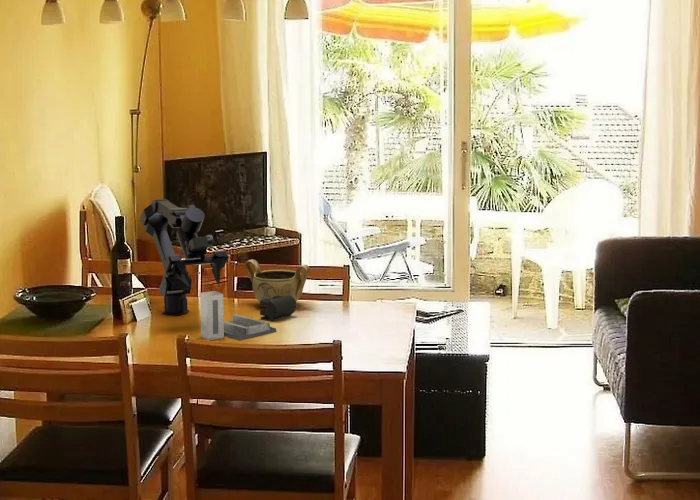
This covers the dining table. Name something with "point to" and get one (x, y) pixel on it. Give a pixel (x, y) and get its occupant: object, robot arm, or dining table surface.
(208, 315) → the aluminium block
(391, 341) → the dining table surface
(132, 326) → the dining table surface
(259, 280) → the ceramic bowl
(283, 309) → the end cap
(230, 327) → the slotted cradle
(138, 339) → the dining table surface
